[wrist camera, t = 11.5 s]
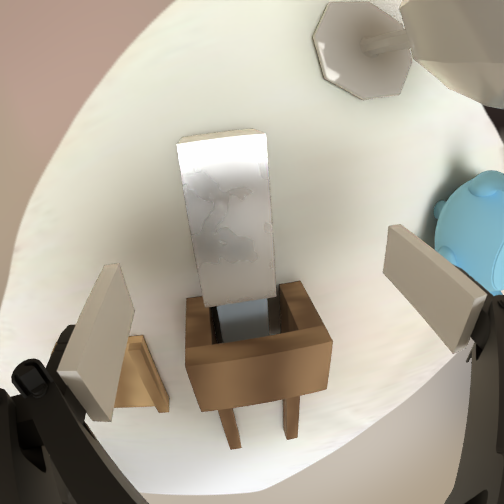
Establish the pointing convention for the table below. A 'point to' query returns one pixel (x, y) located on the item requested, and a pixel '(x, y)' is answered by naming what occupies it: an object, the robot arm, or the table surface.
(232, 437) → the brown wooden forked piece
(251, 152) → the block
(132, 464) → the table surface
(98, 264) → the table surface
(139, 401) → the tan tray
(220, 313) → the block
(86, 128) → the table surface
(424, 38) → the wineglass
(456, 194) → the teapot
